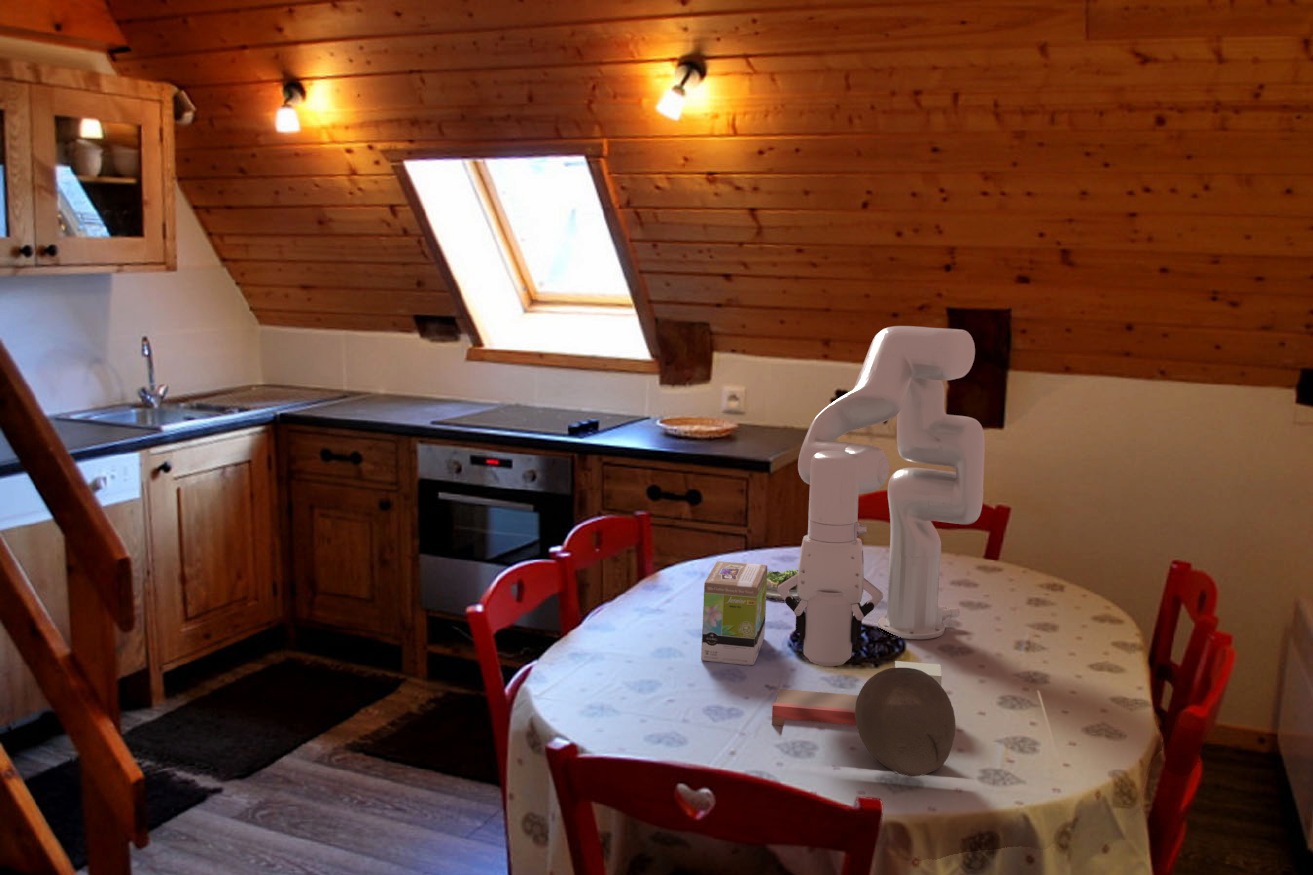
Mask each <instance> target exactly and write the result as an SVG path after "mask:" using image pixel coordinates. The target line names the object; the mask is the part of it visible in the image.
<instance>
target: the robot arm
mask: <svg viewBox="0 0 1313 875" xmlns="http://www.w3.org/2000/svg"><path fill="white" fill-rule="evenodd" d="M975 355H976V348H975V342H974V340H973V337H972V335H971V334H970V333H969V331H967V330H965V329H958V328H942V327H928V326H927V327H926V326H912V325H894V326H888V327H886V328H885V327H884V328H883V329H881V330H880V331H879V332H878V333H876V334H875V335H874V338H873V339H872V342H871V343H870V345H869V348H868V351H867V354H866V356H865V359H864V361H863V363H862V366H861V368H860V372H859V374H858V376H857V379H856V382H855V384H854V387H853V389H851V391H849V392H847V393H845V394H844V395H842V396H840V397H839V398H837V399H836V400H834V401H833V402H832V403H830V404H828V405H827V406H826V407H825V408H824V409H822V410H821V411H819V413H818V414H816V416H815V418H814V419H813V420H812V422H811V423H810V425H809V427H808V430H807V433H806V435H805V437H804V440H803V442H802V445H801V447H800V451H799V455H798V461H797V470H798V473H799V474H798V475H799V476H800V478H801V480H802V481H803V483H805V484H807V485H809V497H808V498H809V500H808V526H807V534H806V535H804V536H803V538H802V541H801V542H802V543H801V547H800V553H799V560H798V561H799V562H798V569H797V570H798V573H797V574H796V575H794V576H793V577H791V578H790V579H788V580H786V581H785V582H783V583H782V584H780V585H779V586H778V588H777V591H778V593H779V594H780V595H781V597H782V598H783V599H784V600H783V601H784V602H785V604H786V605H787V607H789V608H790V610H791V611H792V612H793V614H794V615H795V634H798V635H799V636H798V637H799V639H798V640H799V641H803V642H804V633H805V608H806V606H807V601H809V599H810V598H811V597H813V596H815V595H816V592H815V591H821V592H827V593H840V592H841V593H844V594H842V597H844V598H845V599H847V600H848V601H849V602H850V604H851V605H852V611H853V621H852V646H853V645H857V640H858V639H862V627H863V626H862V624H863V623H862V622H863V620H864V619H865V617H866V616H868V615H869V614H870V613H871V612H873V611H874V610H875V609H874V608H876V606H878V604H880V603H881V601H882V600H883V599H884V593H883V592H882V590H880V589H879V588H877V587H876V586H875V585H874V584H872V583H871V581H869V580H868V579H867V578H865V577H864V576H865V575H864V574H865V573H864V569H865V566H864V564H865V560H864V549H863V541H862V539H861V538H859V536H860V535H867V527H868V526H867V525H863V524H860V522H858V517H859V516H858V514H859V495H861V494H862V495H863V494H869V493H870V494H871V493H873V492H876V491H878V490H879V489H880V488H882V486H883V485H884V484H885V483H886V481H887V480H888V477H889V475H890V470H891V469H890V467H891V466H890V462H889V458H888V455H887V453H886V452H885V451H884V450H882V449H881V448H879V447H877V446H874V445H868V444H859V443H852V442H844V441H835V440H837V439H838V438H839V437H842V436H843V435H845V434H847V433H850V432H853V431H856V430H859V429H863V428H867V427H871V426H873V425H874V426H875V425H877V424H880V423H883V422H886V421H889V420H892V419H893V418H895V417H896V445H897V446H896V447H897V452H898V455H899V457H901V458H902V459H903V460H904V461H907V462H911V463H917V464H923V465H930V466H931V465H932V466H933V465H934V466H940V467H941V466H942V467H949V468H950V467H951V468H952V469H953V471H949V470H948V471H946V470H939V469H932V468H923V467H922V468H921V467H904V468H900V469H898V470H896V471H895V472H893V473H892V475H891V476H890V478H889V480H888V484H887V500H888V508H889V510H888V511H889V519H890V520H889V521H890V538H889V539H890V541H889V562H888V563H889V564H888V582H887V583H888V585H887V602H886V603H887V605H886V614H885V615H883V616H881V617H879V619H878V620H877V621H878V622H877V627H878V628H881V629H883V630H885V631H887V632H889V633H891V634H893V635H896V636H898V637H897V638H900V637H901V638H900V639H907V640H931V639H935V638H939V637H940V636H943V634H944V633H945V629H946V628H945V627H946V626H945V624H944V623H943V621H945V620H946V619H955V618H960V615H961V614H960V610H959V608H958V607H949V608H947V607H946V605H939V591H940V590H939V589H940V572H941V555H942V554H941V553H942V542H941V538H940V534H939V533H938V531H937V529H936V527H935V526H934V524H933V522H941V523H949V524H954V525H955V524H956V525H957V524H959V525H971V524H974V523H976V521H977V520H978V519H979V517H980V516H981V513H982V509H983V502H984V501H983V500H984V481H985V480H984V477H985V474H984V473H985V454H986V453H985V451H986V450H985V448H986V446H985V445H986V444H985V442H986V441H985V440H986V439H985V432H984V429H983V426H982V424H981V423H980V422H979V421H978V420H977V419H976V418H973V417H970V416H964V415H956V414H955V415H954V414H947V413H946V411H945V387H944V383H943V381H952V380H956V379H961V378H964V377H965V376H966V375H967V374H968V373H969V372H970V370H971V369H972V366H973V363H974V361H975ZM795 585H797V594H798V597H799V598H800V600H796V599H795V598H794V597H793V596H792V595H791V594H790V592H789V589H791V588H792V587H794V586H795ZM864 591H865V592H866V593H868V595H870V596H871V597H870V599H869V600H867V601H866V602H865V603H864V604H863V605H862V604H861V602H862V599H863V592H864Z"/></svg>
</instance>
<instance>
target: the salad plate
mask: <svg viewBox="0 0 1313 875" xmlns="http://www.w3.org/2000/svg"><path fill="white" fill-rule="evenodd" d="M797 573H798V569H792V570H790V569H788V570H785V571H783V572H781V571H778V570H776V571H771V570H770V571H767V594H766V598H770V599H775V600H779V601H781V600H782V601H784V599H783V598H782V597H781V595H780V594H779V593H778V591H777V588H778V586H779V585H780V584H782V583H783V582H785V581H786V580H788V579H790V578H791V577H793V576H794V575H796V574H797ZM789 592H790V594H791V595H792V596H793V597H794V598H795V599H796V600H797V601H799V600H800V598H799V597H798V594H797V585H795V586H794V587H792V588H791V589H789Z"/></svg>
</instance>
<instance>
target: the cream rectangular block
mask: <svg viewBox="0 0 1313 875" xmlns="http://www.w3.org/2000/svg"><path fill="white" fill-rule="evenodd" d="M941 667H942V665H941V664H938V663H937V664H936V663H928V662H927V663H926V662H925V663H924V662H913V661H903V660H902V661H900V660H899V661H898V660H895V661H894V668H913V669H917V670H921V671H923V672H925V673H926V674H928V675H930V676H931V677H933V678H934V679H935V680H936V681H937V682H938V683H939V684H940V686H941V687H942V680H943V679H942V668H941Z"/></svg>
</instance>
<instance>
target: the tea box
mask: <svg viewBox="0 0 1313 875" xmlns="http://www.w3.org/2000/svg"><path fill="white" fill-rule="evenodd" d="M767 572H768V565H767V564H758V563H746V562H744V563H743V562H735V561H733V562H732V561H719V560H716V562H715V564H714V566H713V568H712V569H711V571H710V573H709V574H708V576H707V578H706V580H705V581H704V585H703V586H704V588H703V607H702V608H703V609H702V611H703V612H702V630H701V631H702V632H701V647H700V648H701V652H700V653H701V654H700V660H701V661H706V662H713V663H723V664H731V665H732V664H733V665H734V664H735V665H744V666H754V664H755V662H756V660H757V658H758V656H759V653H760V650H761V647H762V644H763V642H764V639H765V633H766V631H765V630H766V612H767V597H766V594H767Z"/></svg>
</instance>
